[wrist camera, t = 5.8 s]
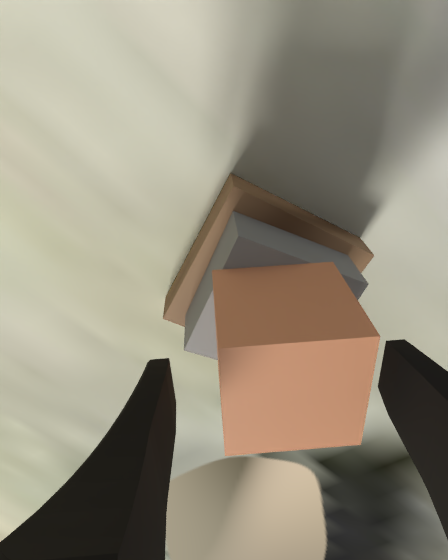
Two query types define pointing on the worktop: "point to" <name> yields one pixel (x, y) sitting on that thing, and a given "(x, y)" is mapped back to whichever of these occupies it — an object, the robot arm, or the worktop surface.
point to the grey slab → (255, 253)
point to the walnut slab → (263, 209)
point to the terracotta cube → (291, 358)
